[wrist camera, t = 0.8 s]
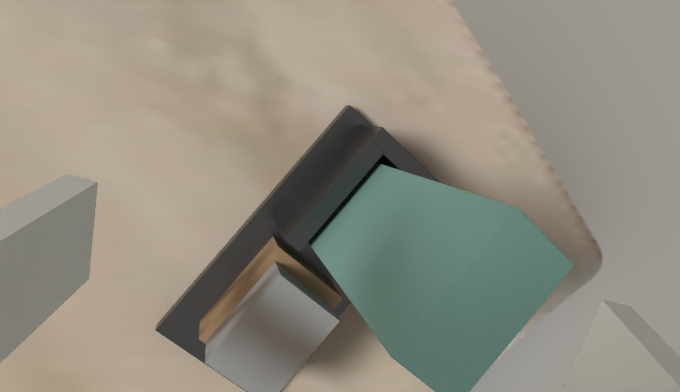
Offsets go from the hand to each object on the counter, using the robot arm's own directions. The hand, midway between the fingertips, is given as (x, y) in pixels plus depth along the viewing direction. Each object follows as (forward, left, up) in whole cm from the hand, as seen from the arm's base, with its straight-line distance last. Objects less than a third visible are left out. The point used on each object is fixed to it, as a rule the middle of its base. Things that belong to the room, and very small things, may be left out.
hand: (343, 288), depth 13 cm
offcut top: (+9, -3, -21) cm, 23 cm away
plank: (+5, +5, -24) cm, 25 cm away
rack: (+7, +1, -25) cm, 26 cm away
